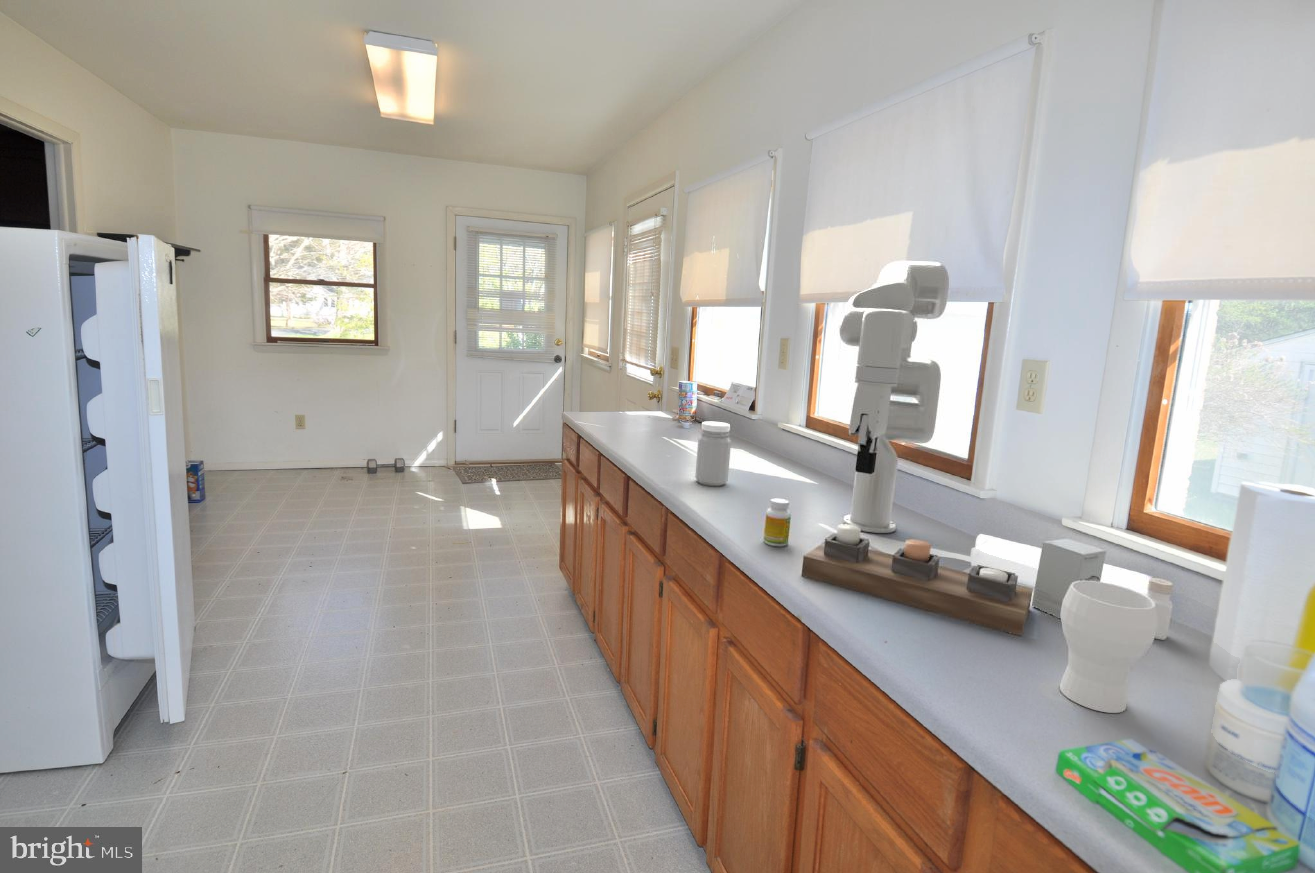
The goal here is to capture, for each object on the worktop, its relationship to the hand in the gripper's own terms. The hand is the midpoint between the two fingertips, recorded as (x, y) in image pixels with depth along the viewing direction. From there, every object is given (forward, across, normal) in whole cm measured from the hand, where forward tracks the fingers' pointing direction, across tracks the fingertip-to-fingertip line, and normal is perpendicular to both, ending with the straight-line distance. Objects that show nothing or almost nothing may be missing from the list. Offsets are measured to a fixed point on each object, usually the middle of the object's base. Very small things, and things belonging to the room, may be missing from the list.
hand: (864, 472), depth 128 cm
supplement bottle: (+21, -8, -19) cm, 30 cm away
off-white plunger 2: (+17, +1, +24) cm, 30 cm away
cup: (+21, +23, +40) cm, 51 cm away
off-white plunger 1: (+14, 0, -2) cm, 14 cm away
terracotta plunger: (+14, 0, +11) cm, 18 cm away
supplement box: (+21, -9, +36) cm, 42 cm away
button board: (+21, 0, +11) cm, 24 cm away
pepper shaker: (+21, -9, +49) cm, 54 cm away
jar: (+21, -48, -56) cm, 77 cm away
